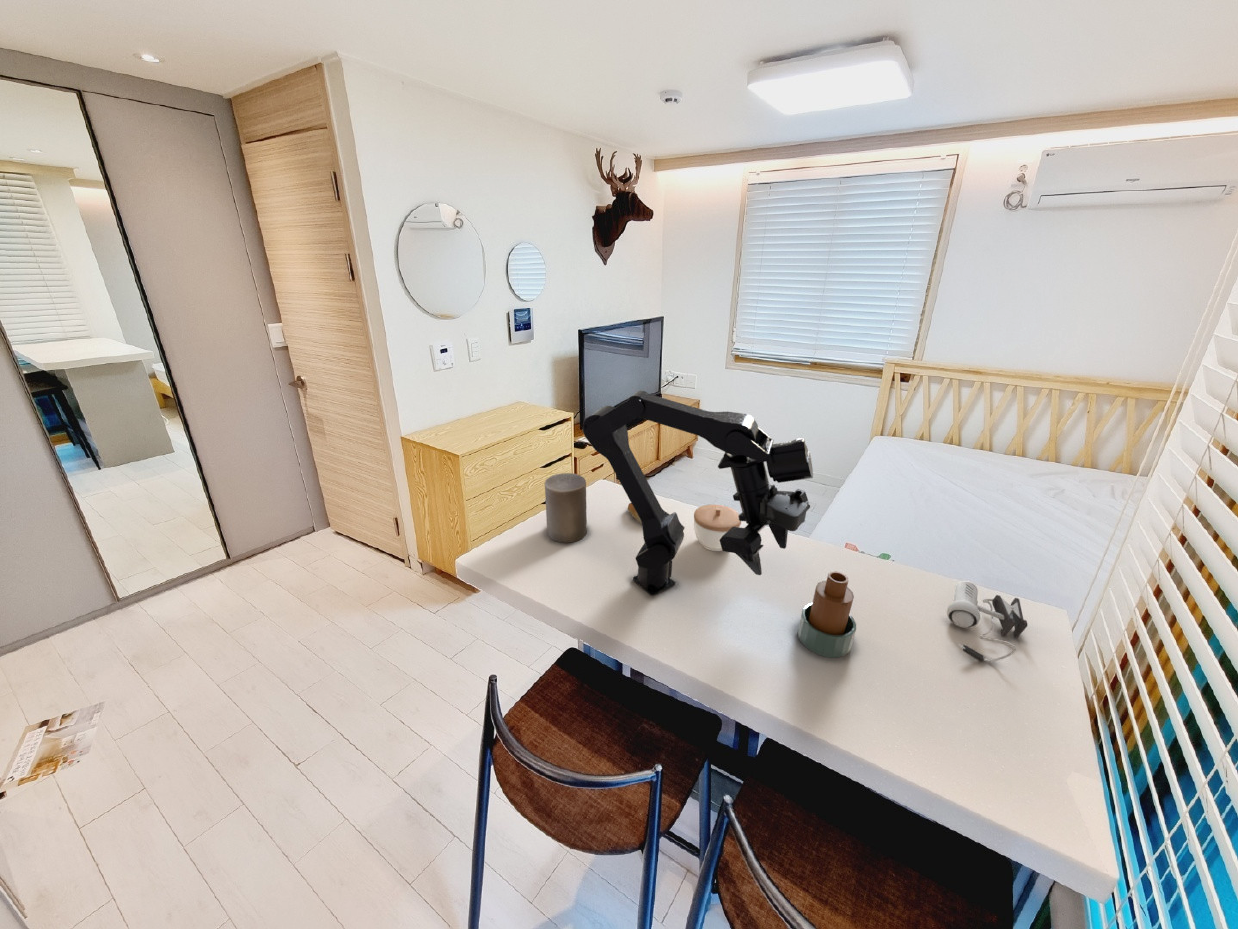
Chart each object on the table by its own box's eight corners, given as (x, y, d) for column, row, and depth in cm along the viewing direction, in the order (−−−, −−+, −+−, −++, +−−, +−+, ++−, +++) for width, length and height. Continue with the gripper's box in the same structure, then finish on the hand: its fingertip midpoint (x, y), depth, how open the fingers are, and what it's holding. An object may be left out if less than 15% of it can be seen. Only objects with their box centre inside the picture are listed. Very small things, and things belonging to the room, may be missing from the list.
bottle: (816, 650, 87) (831, 589, 82) (800, 625, 93) (813, 567, 87) (848, 646, 88) (864, 587, 83) (830, 623, 94) (844, 565, 88)
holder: (831, 666, 85) (837, 645, 83) (787, 634, 92) (791, 614, 90) (861, 643, 90) (866, 623, 88) (816, 614, 96) (820, 595, 95)
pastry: (621, 512, 131) (621, 499, 129) (640, 505, 135) (640, 492, 133) (645, 527, 124) (646, 514, 123) (665, 519, 128) (666, 506, 127)
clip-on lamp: (1013, 689, 85) (1016, 612, 97) (1032, 669, 81) (1032, 591, 93) (936, 655, 90) (947, 586, 102) (950, 634, 86) (960, 565, 98)
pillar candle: (595, 531, 122) (595, 476, 116) (565, 548, 115) (564, 490, 109) (567, 517, 128) (566, 464, 122) (538, 532, 121) (535, 476, 115)
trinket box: (696, 528, 124) (699, 494, 120) (740, 537, 121) (745, 502, 117) (687, 551, 115) (690, 515, 111) (734, 561, 112) (739, 525, 108)
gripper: (766, 514, 77) (787, 599, 81) (819, 463, 88) (835, 540, 93) (708, 508, 85) (730, 586, 89) (763, 463, 96) (780, 533, 101)
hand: (771, 560), depth 93 cm, fingers open, 9 cm apart
